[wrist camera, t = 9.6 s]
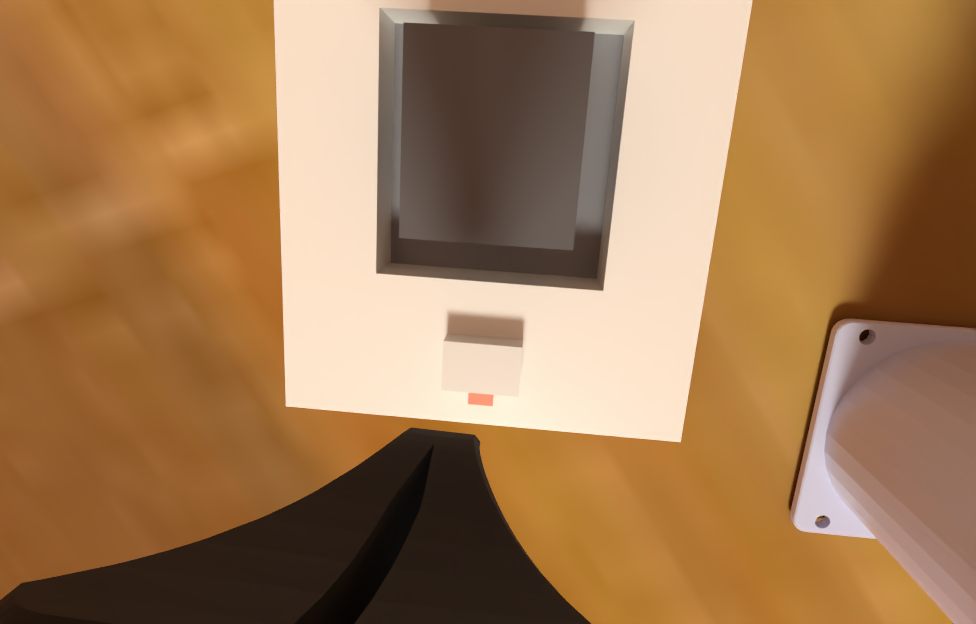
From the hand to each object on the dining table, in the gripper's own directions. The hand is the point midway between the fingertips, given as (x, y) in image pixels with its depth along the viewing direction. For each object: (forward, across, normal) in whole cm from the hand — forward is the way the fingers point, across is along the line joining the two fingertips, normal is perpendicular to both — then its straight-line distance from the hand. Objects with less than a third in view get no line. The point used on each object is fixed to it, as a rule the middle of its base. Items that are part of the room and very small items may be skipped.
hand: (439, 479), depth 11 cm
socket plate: (+10, 0, -4) cm, 11 cm away
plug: (+10, 0, -6) cm, 11 cm away
